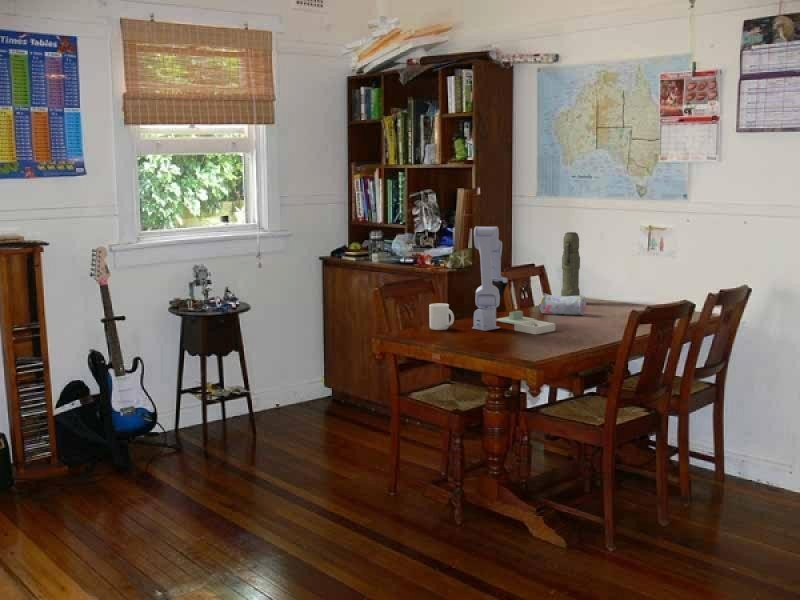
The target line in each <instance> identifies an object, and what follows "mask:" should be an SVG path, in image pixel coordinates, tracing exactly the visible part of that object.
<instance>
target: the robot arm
mask: <svg viewBox="0 0 800 600" xmlns="http://www.w3.org/2000/svg"><path fill="white" fill-rule="evenodd" d="M499 231H500V230H499V227H498V226H497V225H496V226H479V225H478V226H477V225H476V226H475V227H474V229H473V241H474V242H473V243H474V248H475V249H477V250H478V253H479V256H480V257H479V258H480V259H479V261H480V277H481V279H480V280H481V281H480V283H481V285H480V286H478V287H477V288H476V290H475V296H474V297H475V298H474V299H475V301H474V302H475V306H476V307H477V309H476V310H474V312H473V326H472V327H471V329H473V330H474V329H475V330H479V331H483V332H487V331H491V330H496V329H500V328H501V326H497V321H496V319H497V308H498V307H499V306H500V303H501V302H500V301H501V300H500V299H503V297H504V292H505V290H506V288H507V286H508V284H509V283H508V279H509V278H508V277H504V276H502V271H501V270H502V268H501V267H502V266H501V265H502V251H503V241H502V240H500V239H499V237H500V236H499V235H500V232H499ZM493 282H495V285H494V284H493Z"/></svg>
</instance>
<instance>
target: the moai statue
mask: <svg viewBox="0 0 800 600" xmlns="http://www.w3.org/2000/svg"><path fill="white" fill-rule="evenodd" d="M562 242H563V245H562V246H563V247H562V248H563V251H562V257H561V269H562V287H561V293H560V294H561V295H560V296H581V294H580V292H581V291H580V287H579V283H580V281H579V280H580V269H581V257H580V256H581V255H580V250H579V249H580V237H579V234H578V233H577V232H575V231H574V232H573V231H570V232H569V231H568V232H565V234H564V236H563V240H562Z"/></svg>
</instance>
